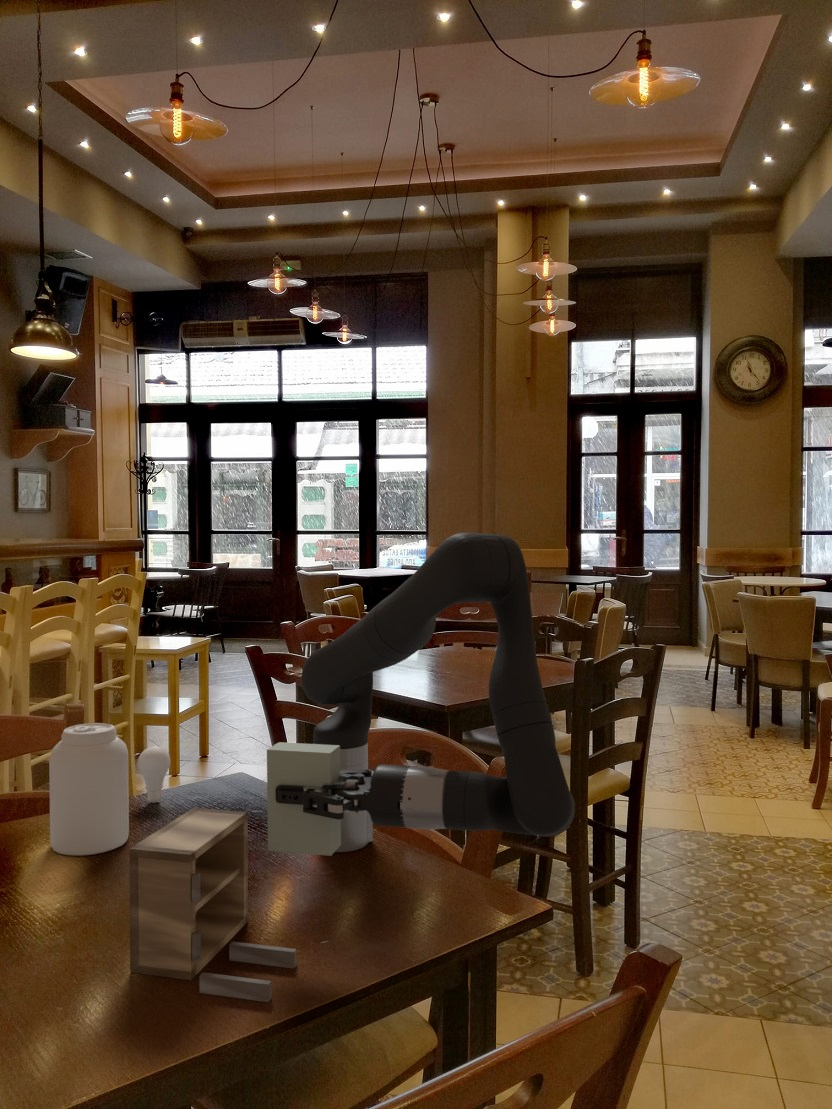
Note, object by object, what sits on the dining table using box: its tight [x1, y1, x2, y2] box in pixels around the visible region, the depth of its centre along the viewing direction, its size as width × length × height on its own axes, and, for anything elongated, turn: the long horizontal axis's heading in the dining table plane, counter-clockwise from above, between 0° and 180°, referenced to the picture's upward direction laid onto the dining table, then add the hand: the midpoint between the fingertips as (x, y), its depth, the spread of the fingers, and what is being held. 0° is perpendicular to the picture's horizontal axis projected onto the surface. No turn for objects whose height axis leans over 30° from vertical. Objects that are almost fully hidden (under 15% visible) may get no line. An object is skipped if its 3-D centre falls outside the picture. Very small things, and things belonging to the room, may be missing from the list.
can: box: [48, 722, 130, 856], centre depth 148 cm, size 12×12×20 cm
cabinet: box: [128, 807, 297, 1003], centre depth 109 cm, size 18×19×15 cm
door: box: [266, 741, 341, 857], centre depth 113 cm, size 5×8×13 cm, turn 77°
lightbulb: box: [137, 745, 171, 804], centre depth 170 cm, size 6×6×11 cm
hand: (283, 788), depth 113 cm, fingers closed on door, 4 cm apart
